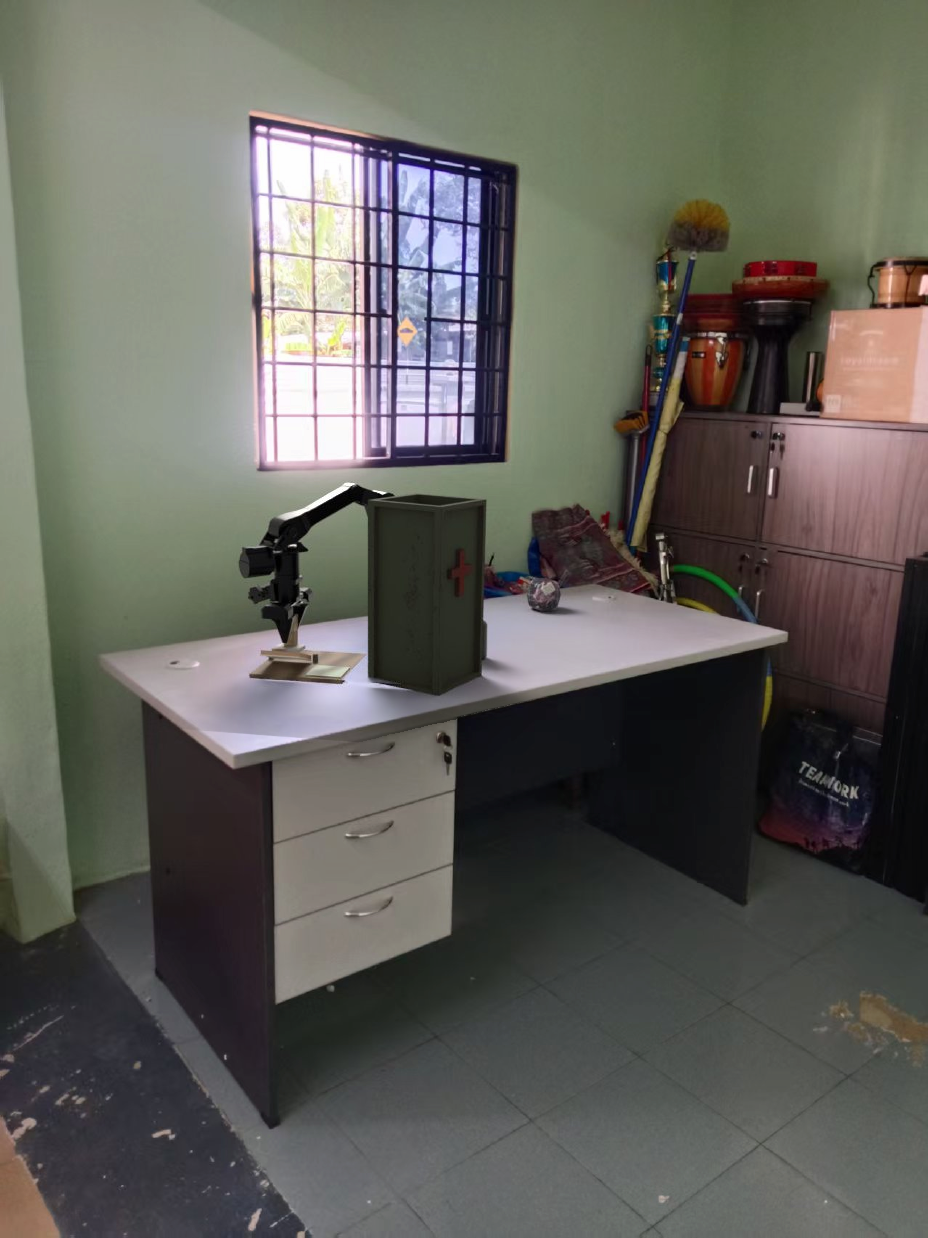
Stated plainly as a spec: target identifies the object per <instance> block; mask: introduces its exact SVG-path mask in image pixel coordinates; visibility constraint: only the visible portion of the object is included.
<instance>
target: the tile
mask: <svg viewBox="0 0 928 1238" xmlns="http://www.w3.org/2000/svg"><path fill="white" fill-rule="evenodd" d="M260 656H261V657H265V658H268V659H269V658H274V659H290V660H306V661H311V655H307V654H303V653H297V652H281V651H272V650H263V649H261V650H260Z"/></svg>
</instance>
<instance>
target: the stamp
mask: <svg viewBox="0 0 928 1238" xmlns="http://www.w3.org/2000/svg"><path fill="white" fill-rule="evenodd" d="M293 615H296V617H295V620H294V623H293V627H292V630H291V633H290V636H289V639H288V642H287V643H278V644H277V645H274V646H273V647H271V651H281V652H297V653H299V652H300V651H302V650H306V645H305V644H298V643H299V639H298V638H299V632H298V631H299V628H298V614H293Z"/></svg>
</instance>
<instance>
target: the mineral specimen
mask: <svg viewBox="0 0 928 1238" xmlns="http://www.w3.org/2000/svg"><path fill="white" fill-rule="evenodd" d="M561 593H562V592H561V590H560V585H559V583H558V581H555V580H553V579H550V578H547V577H545V578H543V577H541V578H540V577H539V578H533V579H532V580H531V581H530V582H529V585H528V589H527V593H526V599H527V605H528V607H530V608H532V609H535V610H537V611H540V612H554V611H555V610H557V609H558V606H559V605H560V604H559V603H560V599H561V596H562V595H561Z"/></svg>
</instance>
